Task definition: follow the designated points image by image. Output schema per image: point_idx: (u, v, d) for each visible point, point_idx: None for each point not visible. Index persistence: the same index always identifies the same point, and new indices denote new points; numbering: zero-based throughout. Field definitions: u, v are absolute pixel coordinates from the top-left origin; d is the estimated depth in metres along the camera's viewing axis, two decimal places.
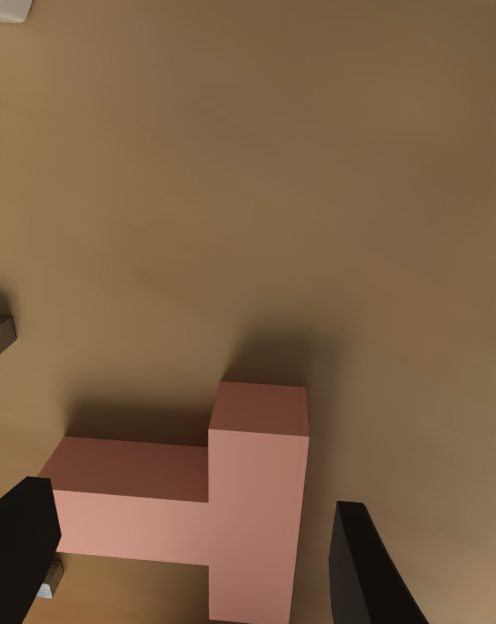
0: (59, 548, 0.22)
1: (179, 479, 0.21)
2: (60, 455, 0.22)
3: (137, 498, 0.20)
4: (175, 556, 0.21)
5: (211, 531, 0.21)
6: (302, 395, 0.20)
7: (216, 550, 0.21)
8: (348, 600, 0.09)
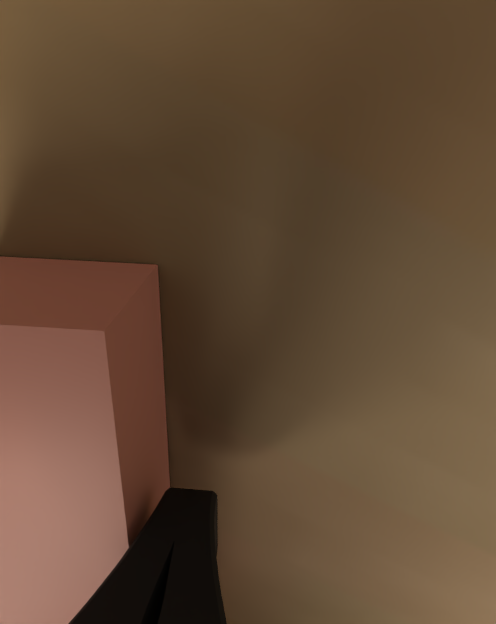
0: None
1: None
2: None
3: None
4: None
5: None
6: (141, 274, 0.10)
7: None
8: None
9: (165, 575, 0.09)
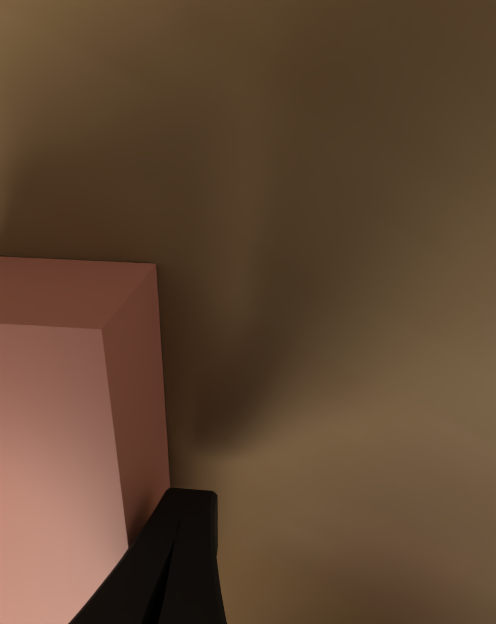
0: None
1: None
2: None
3: None
4: None
5: None
6: (139, 273, 0.10)
7: None
8: None
9: (166, 575, 0.09)
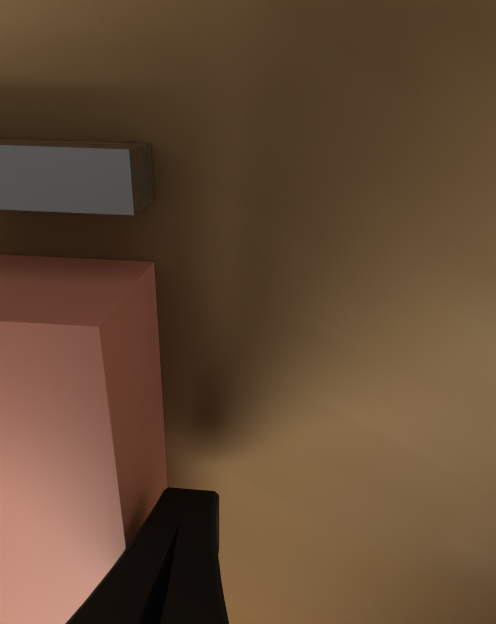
0: None
1: None
2: None
3: None
4: None
5: None
6: (137, 271, 0.10)
7: None
8: None
9: (163, 575, 0.09)
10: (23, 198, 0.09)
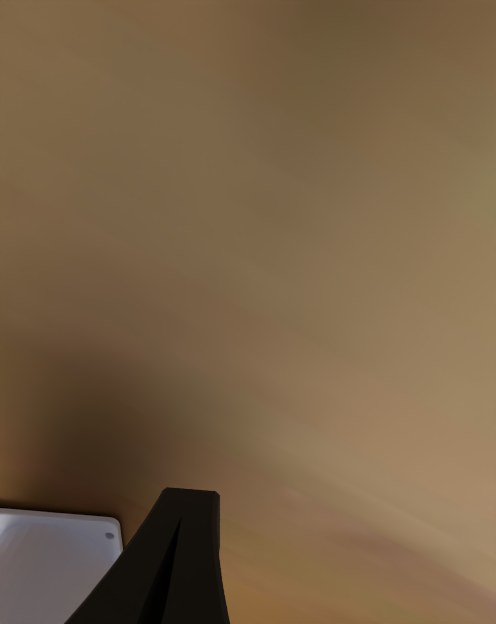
0: None
1: None
2: None
3: None
4: None
5: None
6: None
7: None
8: None
9: (162, 574, 0.09)
10: None
